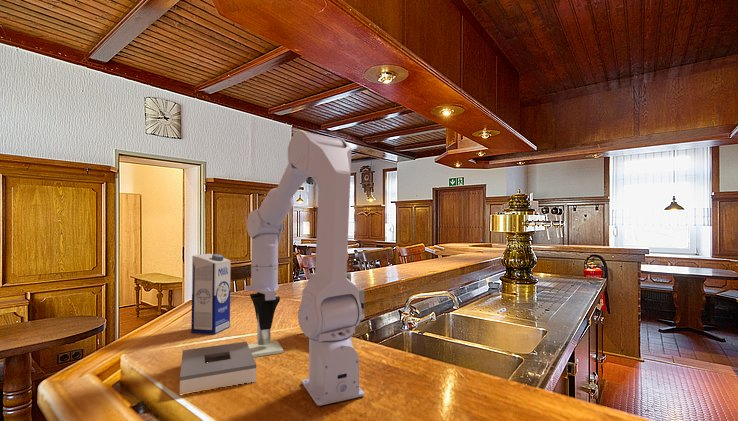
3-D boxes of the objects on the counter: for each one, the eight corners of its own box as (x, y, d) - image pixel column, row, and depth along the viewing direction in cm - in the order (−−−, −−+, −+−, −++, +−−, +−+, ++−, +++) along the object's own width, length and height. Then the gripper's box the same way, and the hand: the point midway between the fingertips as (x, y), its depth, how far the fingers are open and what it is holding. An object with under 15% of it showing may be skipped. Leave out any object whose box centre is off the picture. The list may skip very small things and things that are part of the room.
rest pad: (283, 352, 79) (283, 349, 79) (249, 357, 76) (249, 355, 76) (276, 343, 85) (277, 340, 85) (245, 347, 82) (245, 344, 82)
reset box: (256, 381, 64) (256, 364, 64) (179, 395, 59) (179, 377, 59) (246, 355, 77) (246, 341, 77) (182, 365, 72) (182, 350, 72)
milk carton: (208, 325, 100) (209, 252, 101) (230, 326, 99) (231, 252, 99) (190, 333, 93) (191, 254, 94) (214, 334, 92) (215, 255, 92)
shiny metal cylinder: (271, 343, 80) (272, 302, 80) (258, 345, 78) (259, 303, 79) (268, 340, 82) (269, 300, 83) (256, 342, 81) (256, 301, 81)
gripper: (242, 263, 86) (241, 321, 85) (250, 270, 73) (249, 339, 72) (272, 261, 89) (272, 318, 88) (285, 268, 76) (285, 334, 75)
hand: (264, 327), depth 81 cm, fingers closed on shiny metal cylinder, 3 cm apart
